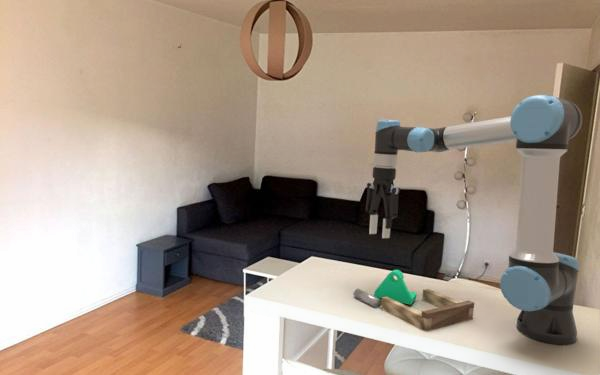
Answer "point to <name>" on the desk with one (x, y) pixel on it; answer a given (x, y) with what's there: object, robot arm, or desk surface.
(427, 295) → the u-shaped wooden frame
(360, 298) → the shaft stub
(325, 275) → the desk surface
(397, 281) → the camera mount
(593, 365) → the desk surface
